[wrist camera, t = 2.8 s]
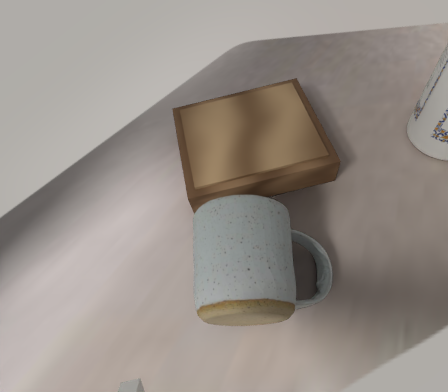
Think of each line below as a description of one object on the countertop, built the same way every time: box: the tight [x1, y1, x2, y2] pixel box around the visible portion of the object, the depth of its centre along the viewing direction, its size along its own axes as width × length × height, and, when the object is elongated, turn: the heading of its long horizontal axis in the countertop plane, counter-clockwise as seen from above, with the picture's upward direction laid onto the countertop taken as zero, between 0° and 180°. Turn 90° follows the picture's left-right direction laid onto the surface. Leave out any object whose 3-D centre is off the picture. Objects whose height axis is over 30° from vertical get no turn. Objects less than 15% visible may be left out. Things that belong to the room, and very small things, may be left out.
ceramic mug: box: [193, 195, 333, 326], centre depth 23 cm, size 11×8×8 cm
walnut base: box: [173, 78, 341, 214], centre depth 32 cm, size 14×12×3 cm
